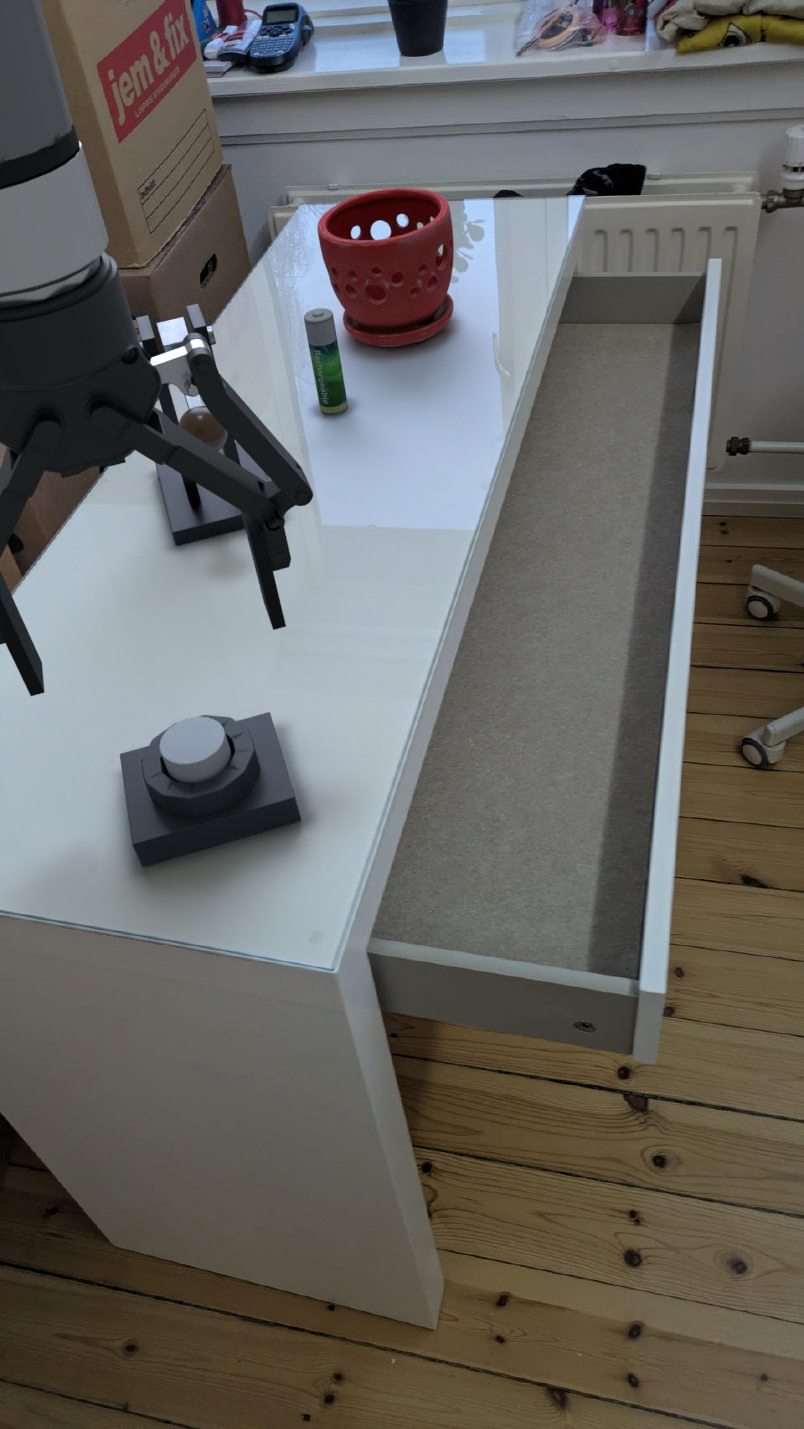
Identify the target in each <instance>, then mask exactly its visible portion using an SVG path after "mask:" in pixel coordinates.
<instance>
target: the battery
mask: <svg viewBox="0 0 804 1429" xmlns="http://www.w3.org/2000/svg"><path fill="white" fill-rule="evenodd" d="M303 323H304V328H305V333H306V339H307V344H308V350H309V356H310V360H311V367H312V371H313V372H312V373H313V377H314V382H315V388H316V393H317V399H318V404H319V409H320V411H321V413H322V414H324V415H332V416H333V415H339V414H342V413H343V412H345V411H346V410H347V409H348V407H349V404H348V399H347V398H348V396H347V392H346V385H345V378H344V373H343V366H342V360H341V355H340V354H341V353H340V348H339V343H338V336H337V331H336V324H335V318H334V313H333V311H332V310H331V309H329V308H325V307H322V308H321V307H319V308H314V309H311V310H309V311H307V312H306V313H305V314H304V316H303Z"/></svg>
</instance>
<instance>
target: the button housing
mask: <svg viewBox="0 0 804 1429" xmlns="http://www.w3.org/2000/svg"><path fill="white" fill-rule="evenodd" d="M197 717H208V718H211V719H214V720H216V721H217V722H218V723H220V724H221V725H222V727H223V729H224V731H225V735H226V738H227V741H228V744H229V747H230V750H231V757H230V761H229V763H228V765H227V766H226V768H225V769H224V770H223V771H222V772H220V773H219V774H218V775H216V776H215V777H214V778H212V779H209V780H205V781H202V782H199V783H183V782H180V781H178V780H176V779H174V778H173V777H172V776H171V775H170V774H169V772H168V770H167V768H166V765H165V762H164V760H163V757H162V755H161V752H160V741H161V738H162V736H163V735H164V733H165V732H166V731H167V730H168V729H169V728H170V727H171V726H173V725H174V724H176V723H178V722H179V721H176V722H174V723H173V724H172V725H170V726H168V728H166V729H165V730H163V731H162V732H160V733H158V735H157V736H155V737H153V739H151V742H150V743H149V745H147V746H143V747H140V748H135V749H132V750H128V751H124V752H122V753H120V754H119V759H120V766H121V774H122V780H123V781H122V782H123V787H124V788H123V789H124V794H125V802H126V810H127V817H128V824H129V831H130V836H131V838H130V839H131V845H132V847H133V849H134V851H135V855H136V856H137V858H138V860H139V862H140V865H141V867H142V868H144V867H148V866H151V865H155V864H158V863H161V862H165V861H168V860H171V859H175V858H178V857H182V856H185V855H189V854H191V853H192V854H193V853H195V852H199V851H202V850H206V849H208V848H212V847H215V846H219V845H222V844H225V843H226V844H227V843H230V842H232V841H235V840H239V839H240V840H241V839H242V838H243V839H244V838H246V837H249V836H253V835H256V834H259V833H263V832H267V831H271V830H273V829H277V828H280V827H285V826H286V825H290V824H294V823H297V822H301V821H302V817H301V813H300V810H299V807H298V803H297V799H296V794H295V792H294V788H293V785H292V782H291V779H290V776H289V771H288V768H287V765H286V762H285V757H284V755H283V751H282V747H281V745H280V741H279V737H278V734H277V731H276V728H275V725H274V720H273V718H272V714H271V712H270V711H268V712H264V713H261V714H260V713H259V714H255V715H253V716H249V717H245V718H242V719H239V720H235V719H234V718H232V717H230V716H221V715H210V714H202V715H198V716H197Z"/></svg>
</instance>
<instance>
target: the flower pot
mask: <svg viewBox="0 0 804 1429" xmlns="http://www.w3.org/2000/svg"><path fill="white" fill-rule="evenodd" d="M400 215H404V216H406V217H407V221H408V222H407V224H406V225H405V226H403V225H400V224H399V222H398V217H399V216H400ZM431 218H432V219H431ZM380 221H382V222H384V223H385V224H387V225H388V226H389V229H390V234H389V236H388V237H387V238H380V239H375V238H374V237H373V234H372V227H373V225H374V224H375V223H376V222H380ZM419 223H420V224H422V226H421V227H420V228H418V224H419ZM354 227H358V228H359V234H358V236H357V237H356V238H355V237H353V235H352V231H353V229H354ZM316 228H317V230H316V231H317V236H318V241H319V247H320V248H319V249H320V252H321V255H322V260H323V263H324V266H325V268H326V271H327V275H328V277H329V281H330V285H331V288H332V290H333V293H334V295H335V296H336V298H337V301H338V302H339V303H340V305H341V306H342V308H343V310H344V311H343V314H342V324H343V326H344V329H345V330H346V331H347V333H348V334H349V335H350V336H352V337H353V338H354V339H356V340H358V341H359V342H362V343H363V344H367V345H371V346H375V347H383V348H384V347H385V348H390V347H393V348H394V347H402V346H407V345H412V344H414V343H418V342H424V341H426V340H427V339H428V338H431V337H432V336H434V335H435V334H438V333H439V332H441V330H442V329H443V328H444V327H446V325H448V323H449V321H450V320H451V318H452V315H453V313H454V306H455V305H454V300H453V298H452V296H451V295H450V294H449V293H448V291H449V288H450V286H451V285H450V284H451V281H452V275H453V269H454V258H455V257H454V256H455V255H454V252H455V251H454V250H455V247H454V243H455V242H454V230H453V220H452V214H451V208H450V205H449V202H448V200H447V199H446V198H445V197H444V196H443V195H441V194H440V193H437V192H435V191H433V190H429V189H425V188H417V187H393V188H384V189H383V188H382V189H378V190H372V191H368V192H363V193H360V194H357V195H354V196H351V197H349V198H347V199H345V200H343V201H341V202H339V203H337V204H336V205H334V206H332V207H330V208H329V209H328V210H327V211H325V213H324V214H322V216H321V217H320V218H319V220H318V222H317V227H316ZM441 247H442V253H441V252H440V250H439V249H440V248H441Z"/></svg>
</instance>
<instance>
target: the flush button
mask: <svg viewBox="0 0 804 1429" xmlns="http://www.w3.org/2000/svg"><path fill="white" fill-rule="evenodd" d="M177 722H178V723H177ZM177 722H175V723H176V724H174V723H173V724H174V725H173V724H172V725H173V726H172V725H170V726H171V727H170V726H169V727H170V728H169V727H168V728H169V729H168V730H167V731H166V732H165V733H164V735H163V736H162V738H161V741H160V752H161V755H162V757H163V760H164V762H165V765H166V768H167V770H168V772H169V774H170V775H171V776H172V777H173V778H174V779H176V780H178V781H180V782H183V783H199V782H202V781H205V780H209V779H212V778H214V777H215V776H216V775H218V774H219V773H220V772H222V771H223V770H224V769H225V768H226V766H227V765H228V763H229V761H230V757H231V750H230V747H229V744H228V741H227V738H226V735H225V731H224V729H223V727H222V725H221V724H220V723H218V722H217V721H216V720H214V719H211V718H208V717H198V716H193V717H189V718H185V719H182V720H180V721H177Z"/></svg>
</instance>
